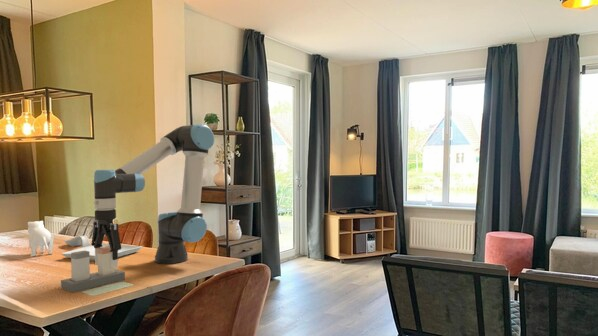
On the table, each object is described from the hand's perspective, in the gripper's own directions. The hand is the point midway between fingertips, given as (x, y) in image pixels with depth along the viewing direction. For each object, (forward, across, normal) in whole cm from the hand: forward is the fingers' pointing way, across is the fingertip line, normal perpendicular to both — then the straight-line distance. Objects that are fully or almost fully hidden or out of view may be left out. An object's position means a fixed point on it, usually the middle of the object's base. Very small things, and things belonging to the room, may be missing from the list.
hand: (106, 266), depth 166 cm
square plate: (+7, -50, +26) cm, 56 cm away
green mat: (+7, +10, -5) cm, 13 cm away
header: (+7, 0, -5) cm, 8 cm away
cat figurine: (+7, -80, +9) cm, 80 cm away
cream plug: (+6, 0, 0) cm, 6 cm away
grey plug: (+6, 0, -10) cm, 12 cm away
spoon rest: (+7, -83, +31) cm, 89 cm away
